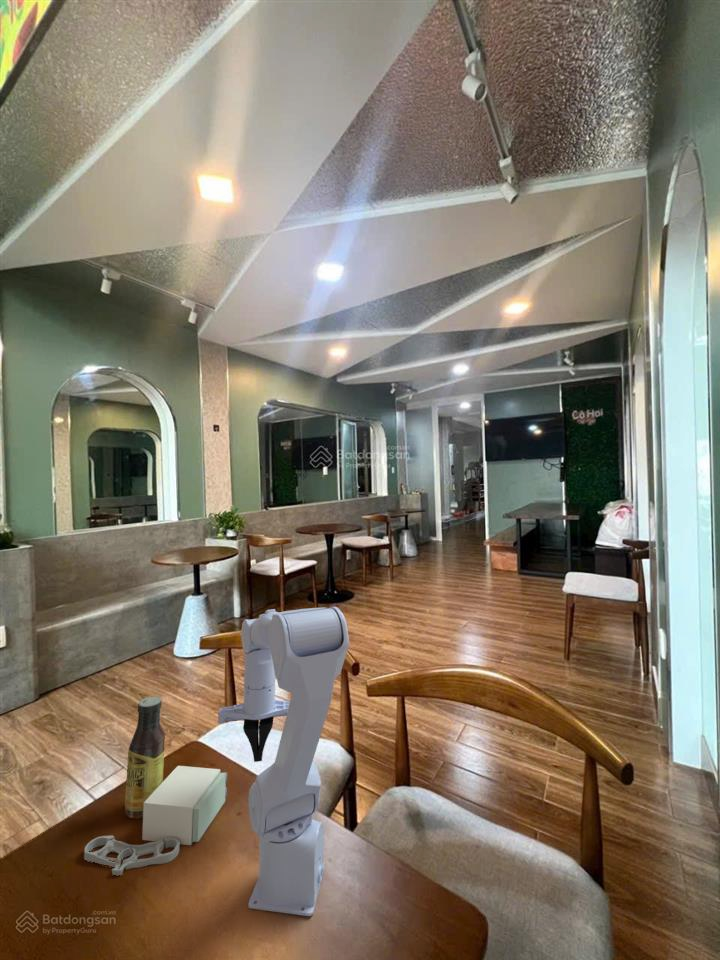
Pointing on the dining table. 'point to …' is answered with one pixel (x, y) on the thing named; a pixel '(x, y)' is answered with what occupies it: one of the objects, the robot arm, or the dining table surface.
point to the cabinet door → (209, 806)
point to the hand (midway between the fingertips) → (258, 758)
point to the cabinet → (176, 804)
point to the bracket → (130, 853)
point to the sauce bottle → (145, 757)
